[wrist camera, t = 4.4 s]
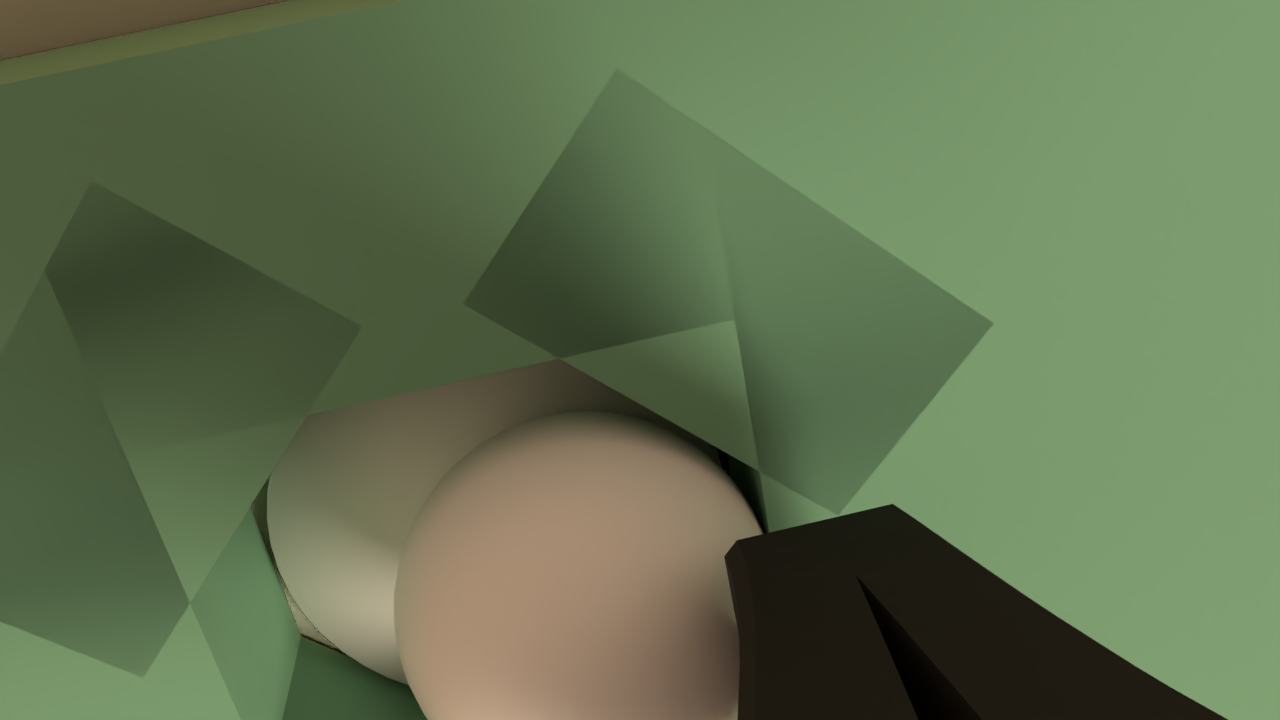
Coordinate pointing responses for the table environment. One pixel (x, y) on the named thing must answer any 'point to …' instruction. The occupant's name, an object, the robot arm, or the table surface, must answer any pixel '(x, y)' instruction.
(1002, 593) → the robot arm
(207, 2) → the table surface
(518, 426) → the ball
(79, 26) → the table surface
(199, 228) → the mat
